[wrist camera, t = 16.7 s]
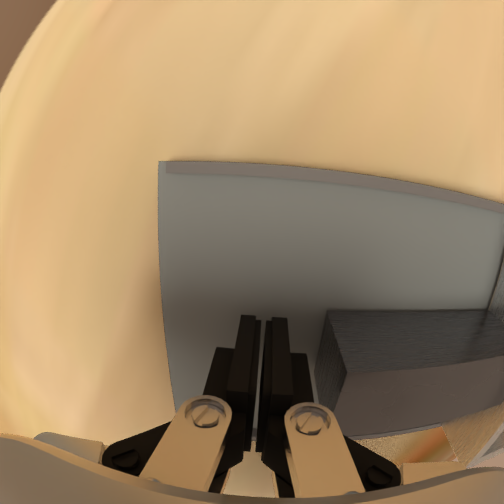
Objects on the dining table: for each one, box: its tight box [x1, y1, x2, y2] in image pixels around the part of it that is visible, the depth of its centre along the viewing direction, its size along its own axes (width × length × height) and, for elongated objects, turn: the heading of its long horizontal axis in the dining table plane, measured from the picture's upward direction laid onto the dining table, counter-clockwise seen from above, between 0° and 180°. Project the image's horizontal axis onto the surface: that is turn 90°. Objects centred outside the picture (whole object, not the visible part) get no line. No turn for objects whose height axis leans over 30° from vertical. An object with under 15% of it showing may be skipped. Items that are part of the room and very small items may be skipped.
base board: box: [158, 161, 504, 441], centre depth 11 cm, size 13×26×2 cm, turn 87°
